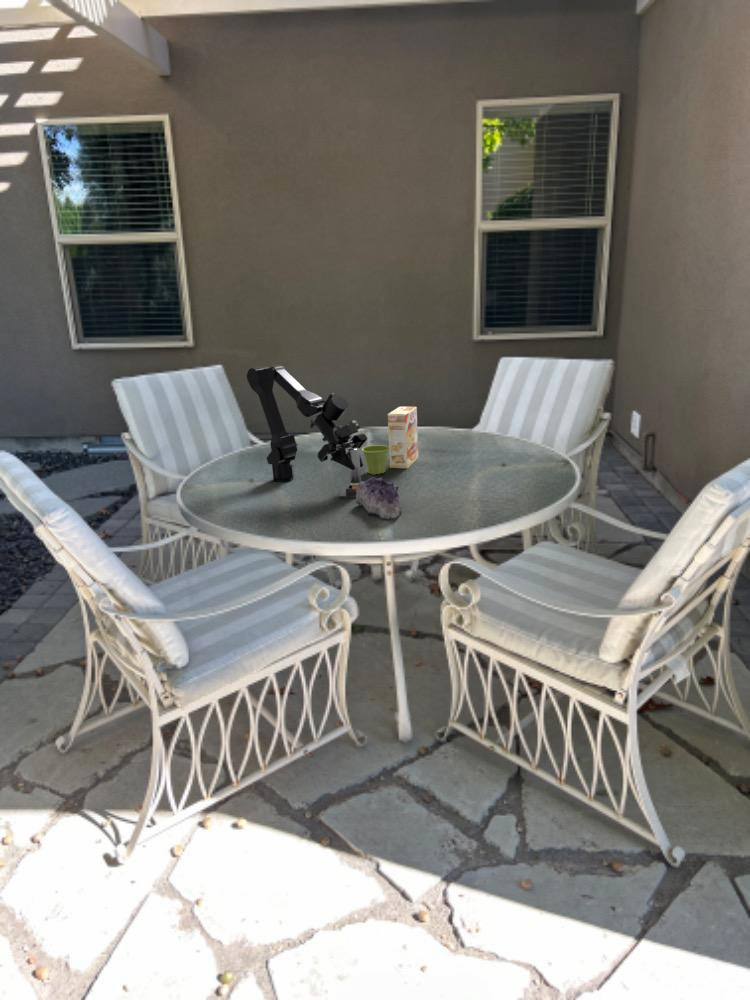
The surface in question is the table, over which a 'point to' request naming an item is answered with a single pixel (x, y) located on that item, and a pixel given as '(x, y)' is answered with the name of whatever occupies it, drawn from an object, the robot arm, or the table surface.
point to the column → (355, 459)
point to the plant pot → (375, 458)
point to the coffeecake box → (403, 437)
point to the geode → (379, 498)
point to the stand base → (348, 492)
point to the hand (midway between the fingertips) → (358, 467)
